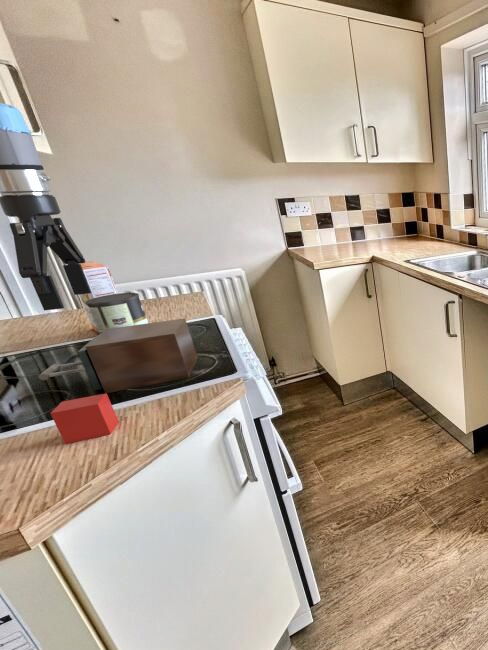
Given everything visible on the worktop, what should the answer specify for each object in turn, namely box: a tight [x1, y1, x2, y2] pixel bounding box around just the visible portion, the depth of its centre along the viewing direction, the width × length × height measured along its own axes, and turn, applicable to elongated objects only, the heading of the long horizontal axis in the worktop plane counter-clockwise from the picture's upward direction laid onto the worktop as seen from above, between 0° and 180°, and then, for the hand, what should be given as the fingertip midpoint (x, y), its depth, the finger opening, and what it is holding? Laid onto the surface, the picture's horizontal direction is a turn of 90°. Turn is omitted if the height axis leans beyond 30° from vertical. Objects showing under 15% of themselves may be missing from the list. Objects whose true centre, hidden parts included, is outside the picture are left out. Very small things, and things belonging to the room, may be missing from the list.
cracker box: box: [78, 260, 119, 335], centre depth 120 cm, size 14×6×21 cm, turn 56°
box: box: [50, 392, 120, 445], centre depth 73 cm, size 6×4×6 cm
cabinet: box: [86, 318, 199, 394], centre depth 95 cm, size 15×13×11 cm
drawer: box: [38, 334, 103, 391], centre depth 92 cm, size 22×11×9 cm, turn 118°
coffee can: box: [86, 292, 149, 335], centre depth 111 cm, size 10×10×14 cm
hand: (69, 301), depth 88 cm, fingers open, 13 cm apart
